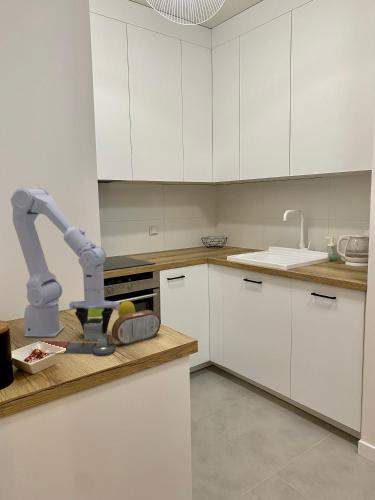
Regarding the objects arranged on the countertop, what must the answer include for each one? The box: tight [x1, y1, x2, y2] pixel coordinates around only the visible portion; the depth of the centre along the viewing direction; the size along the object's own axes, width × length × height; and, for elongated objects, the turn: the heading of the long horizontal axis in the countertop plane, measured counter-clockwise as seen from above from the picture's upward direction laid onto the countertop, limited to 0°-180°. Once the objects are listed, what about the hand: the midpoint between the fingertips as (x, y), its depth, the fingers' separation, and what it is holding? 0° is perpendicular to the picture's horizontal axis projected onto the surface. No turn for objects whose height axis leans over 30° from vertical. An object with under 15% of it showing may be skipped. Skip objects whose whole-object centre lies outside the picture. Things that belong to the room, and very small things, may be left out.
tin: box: [111, 309, 162, 345], centre depth 107 cm, size 15×3×8 cm, turn 126°
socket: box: [83, 317, 108, 341], centre depth 109 cm, size 5×5×5 cm
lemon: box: [117, 299, 136, 318], centre depth 121 cm, size 6×6×8 cm
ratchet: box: [40, 334, 116, 357], centre depth 100 cm, size 21×6×4 cm, turn 88°
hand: (95, 332), depth 110 cm, fingers closed on socket, 5 cm apart
